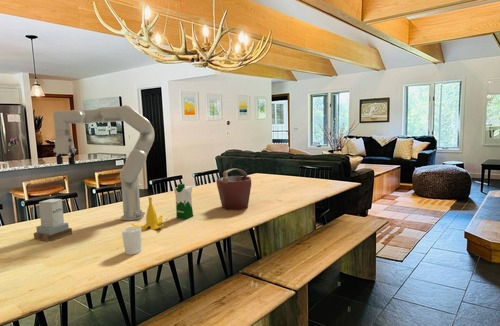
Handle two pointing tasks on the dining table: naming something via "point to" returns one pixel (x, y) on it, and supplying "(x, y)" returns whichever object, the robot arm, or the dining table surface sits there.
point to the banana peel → (151, 218)
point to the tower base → (52, 237)
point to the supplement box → (51, 212)
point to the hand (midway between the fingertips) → (65, 164)
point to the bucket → (234, 190)
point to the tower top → (52, 229)
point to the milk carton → (183, 201)
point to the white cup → (132, 240)
